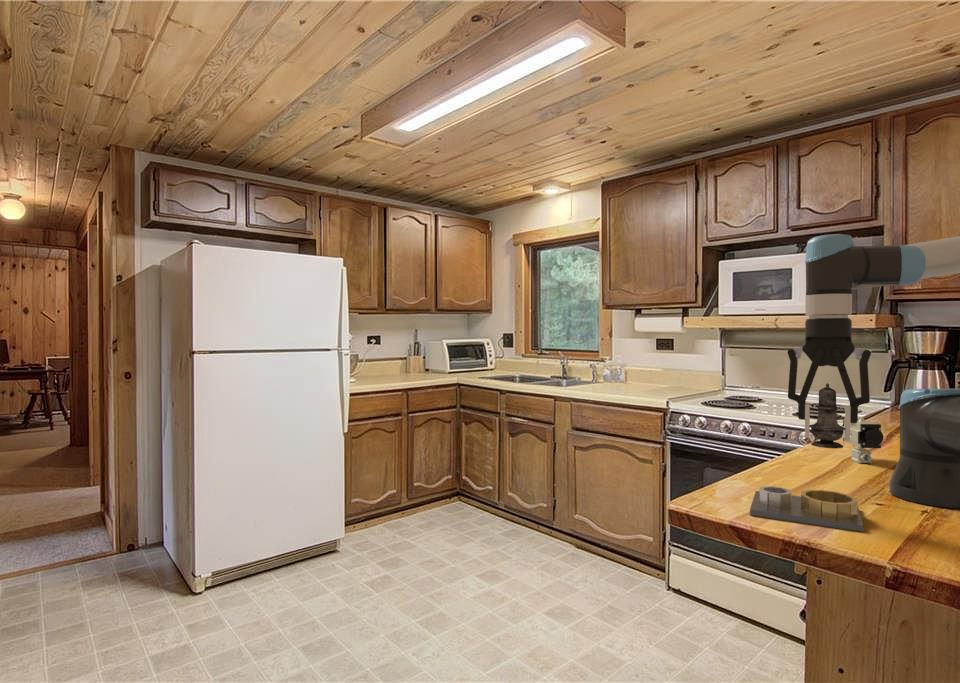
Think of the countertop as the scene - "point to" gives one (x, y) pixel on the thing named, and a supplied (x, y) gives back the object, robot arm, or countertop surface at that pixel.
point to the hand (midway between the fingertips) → (827, 438)
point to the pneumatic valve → (863, 439)
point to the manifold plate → (803, 515)
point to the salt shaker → (827, 420)
